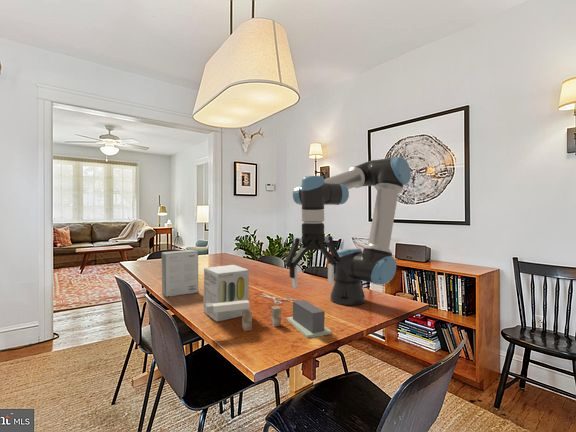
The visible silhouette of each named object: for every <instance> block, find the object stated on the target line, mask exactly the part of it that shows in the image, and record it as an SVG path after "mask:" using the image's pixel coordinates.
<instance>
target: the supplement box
mask: <svg viewBox="0 0 576 432" xmlns="http://www.w3.org/2000/svg"><path fill="white" fill-rule="evenodd" d="M249 275H250V273H249V269H248V268H245V267H241V266H239V265H236V264H228V265H218V266H209V267H204V268H203V312H204V313H205V314H206V315H207V316H209V317H210V318H211V319H213V320H214V321H215V322H217V323H218V322H221V321H227V320H230V319H235V318H240V317H242V310H247V309H240V310H232V311H223V312H215V313H213V314H207V313H206V311H205V303H212V304H214V303H223V302H233V301H242V300H248V301H249V302H250V300H249V298H250V297H249V296H250V295H249V294H250V293H249V292H250V291H249V287H250V283H249V282H250V281H249V277H250V276H249Z"/></svg>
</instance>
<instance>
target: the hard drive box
mask: <svg viewBox="0 0 576 432" xmlns="http://www.w3.org/2000/svg"><path fill="white" fill-rule="evenodd" d="M195 293H199V251H198V250H195V249H186V250H173V251H172V250H171V251H162V252H161V294H162V295H163V296H164V297H165V298H167V297H168V296H169V297H175V296H176V297H177V296H182V295H189V294H190V295H191V294H195Z"/></svg>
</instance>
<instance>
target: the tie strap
mask: <svg viewBox="0 0 576 432" xmlns="http://www.w3.org/2000/svg"><path fill="white" fill-rule="evenodd" d="M250 305H251V302H250V300H249V301H248V300H242V301H233V302H223V303H214V304H212V303H205V311H206V313H207V314H213V313H215V312H223V311H232V310H240V309H250V308H251V306H250ZM206 313H205V314H206ZM207 314H206V315H207Z"/></svg>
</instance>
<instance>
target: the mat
mask: <svg viewBox="0 0 576 432" xmlns="http://www.w3.org/2000/svg"><path fill="white" fill-rule="evenodd" d="M286 320H287V321H288V323H289V324H291V325H292V326H293V327H294V328H295V329H296V330H297V331H298V332H300V333H301V334H302V335H303V336H304V337H305V338H307V339H308V338H315V337H321V336H328V335H331V334H332V333H333V331H332V330H330V329H329V328H328V327H326V326H325V325H324V331H322V332H317V333H311V332H310V331H309V330H307V329H306V328H304V327H303V326H302V325H300V324H299V323H298V322H296V321H295V320H293V316H287V317H286Z"/></svg>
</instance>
